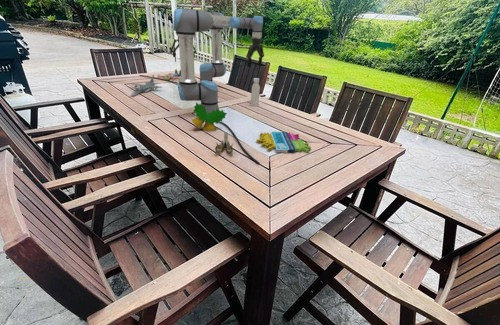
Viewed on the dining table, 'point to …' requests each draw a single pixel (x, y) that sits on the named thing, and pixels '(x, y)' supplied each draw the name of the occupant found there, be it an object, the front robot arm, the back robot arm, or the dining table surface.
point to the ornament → (207, 117)
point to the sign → (283, 142)
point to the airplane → (145, 87)
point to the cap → (256, 79)
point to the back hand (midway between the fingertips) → (254, 66)
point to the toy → (171, 75)
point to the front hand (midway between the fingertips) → (184, 61)
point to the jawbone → (224, 145)
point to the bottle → (255, 94)
